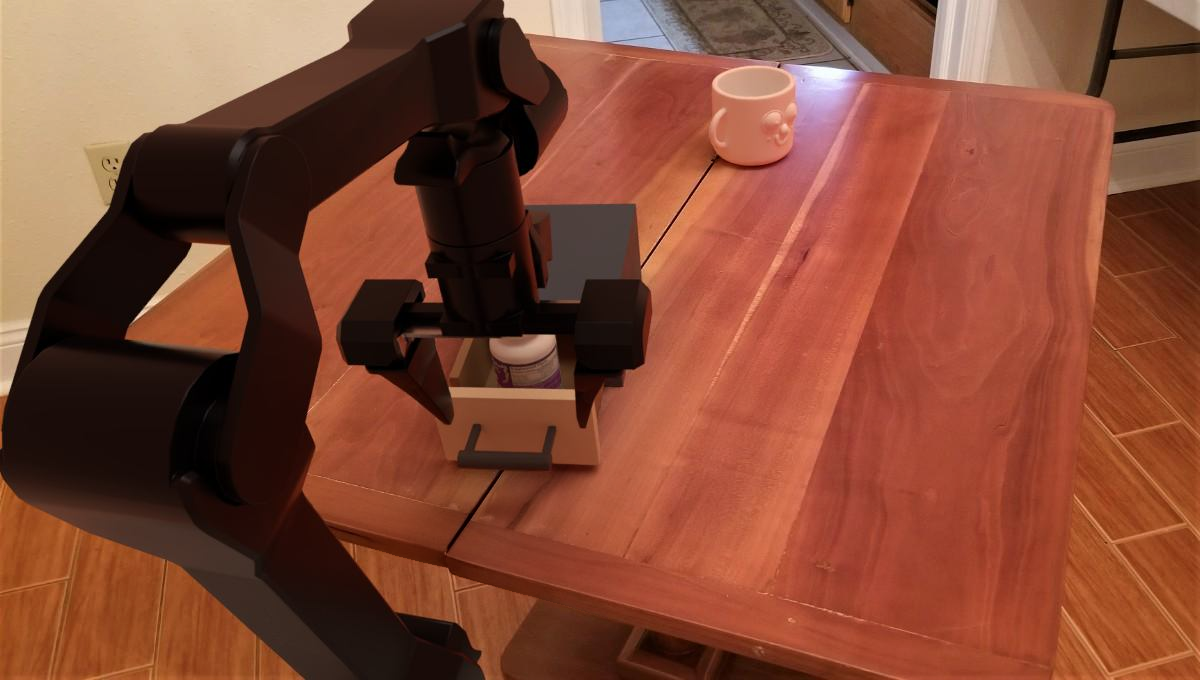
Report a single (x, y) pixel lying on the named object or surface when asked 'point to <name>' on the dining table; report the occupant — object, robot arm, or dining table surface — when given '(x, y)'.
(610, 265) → the cabinet
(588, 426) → the drawer
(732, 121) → the mug
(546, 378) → the pill bottle
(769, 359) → the dining table surface
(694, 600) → the dining table surface
